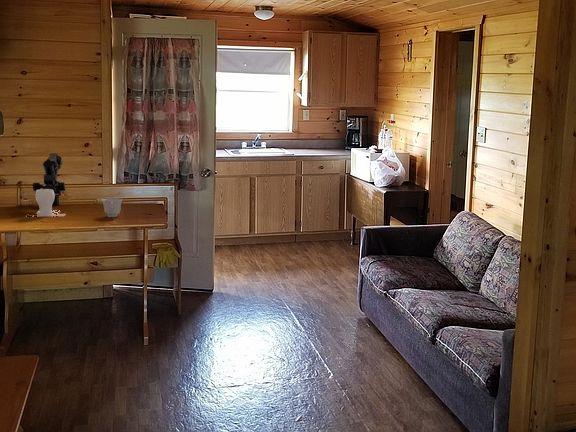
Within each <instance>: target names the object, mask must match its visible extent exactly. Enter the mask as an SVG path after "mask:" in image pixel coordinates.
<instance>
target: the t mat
mask: <svg viewBox="0 0 576 432" xmlns="http://www.w3.org/2000/svg"><path fill="white" fill-rule="evenodd" d="M52 210H53V211H52V212H54V213H57V215H56V214H54V213H53V215H52V216H39V211H40V210H38V211H37V212H36V213H35V214H37V217H36V218H49V217H52V218H54V217H56V216H58V217H59V218H61V217H65V216H66V215H67V214H66V213H61V211H60V210H59V209H55V210H54V209H52ZM57 210H59V211H58V212H59V213H58V212H55V211H57ZM53 216H54V217H53ZM25 218H28V217H27V215H26V216H25ZM31 218H35V217H34V215H33V216H32V217H31Z"/></svg>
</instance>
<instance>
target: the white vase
mask: <svg viewBox="0 0 576 432" xmlns="http://www.w3.org/2000/svg"><path fill="white" fill-rule="evenodd" d="M54 198H55V195H54V191H53V190H52V189H43V188H41V189H40V190H36V191H35V199H36V203H37V204H38V208H39V210H38V211H39V216H52V215H53V213H52V210H53V206H52V204H53V202H54Z"/></svg>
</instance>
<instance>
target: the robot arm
mask: <svg viewBox="0 0 576 432" xmlns="http://www.w3.org/2000/svg"><path fill="white" fill-rule="evenodd" d="M62 165H63V159H62V157H61V156H60V155H59V154H58V153H54V152H53V153H49V156H48V158H46V160H44V162H43V164H42V167H43V169H44V172H45V173H44V174H43V183H42V184H41V183H40V182H33V183H32V189H33V192H36V190H40V189H52V190H53V191H54V195H55V198H54V202H53V204H52V207H54V206H55V207H57V206H61V204H60V200H59V199H60V197H61V196H62V193H61V192H65V191H66V184H65V182H61V181H60V182H59V181H58V174H59V173H58V172H59V170H60V169H62Z"/></svg>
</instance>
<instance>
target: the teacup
mask: <svg viewBox="0 0 576 432" xmlns="http://www.w3.org/2000/svg"><path fill="white" fill-rule="evenodd" d="M101 201H102V203H103V211H104V213H105V214H106V215H107V217H108V218H116V217H118V215H119V214H120V212H121V207H122V202H123V198H117V197H116V198H114V197H111V198H103V199H101Z"/></svg>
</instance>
